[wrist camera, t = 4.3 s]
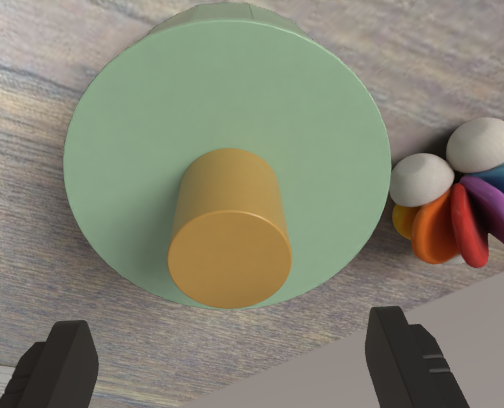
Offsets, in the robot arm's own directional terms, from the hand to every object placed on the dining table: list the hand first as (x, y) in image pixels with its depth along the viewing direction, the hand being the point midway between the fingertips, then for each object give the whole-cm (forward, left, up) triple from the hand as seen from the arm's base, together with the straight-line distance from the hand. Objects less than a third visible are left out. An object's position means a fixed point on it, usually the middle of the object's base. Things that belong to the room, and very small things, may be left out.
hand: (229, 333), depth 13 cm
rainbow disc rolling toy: (+15, -5, -18) cm, 24 cm away
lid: (0, 0, -9) cm, 9 cm away
